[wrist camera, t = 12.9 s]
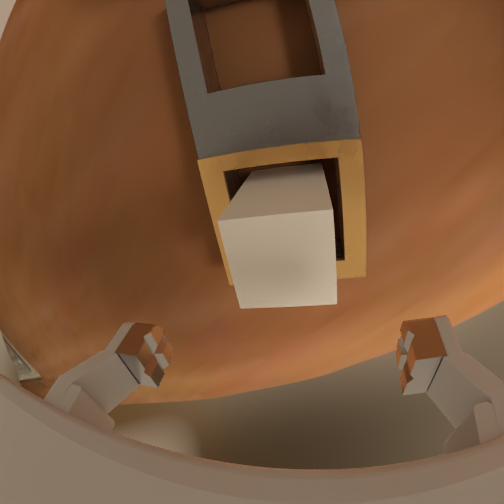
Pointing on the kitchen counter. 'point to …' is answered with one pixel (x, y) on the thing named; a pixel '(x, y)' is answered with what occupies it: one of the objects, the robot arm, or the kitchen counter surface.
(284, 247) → the square peg
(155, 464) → the robot arm
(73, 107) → the kitchen counter surface
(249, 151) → the socket rail
